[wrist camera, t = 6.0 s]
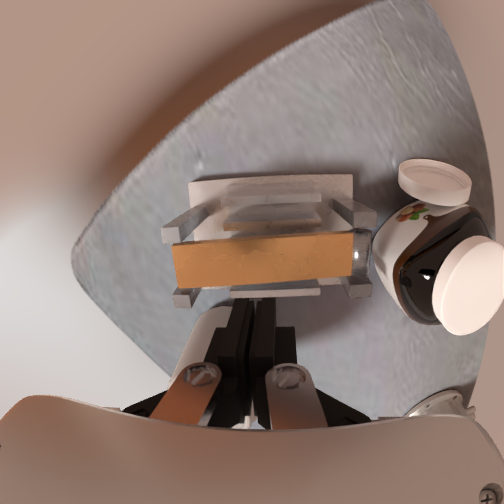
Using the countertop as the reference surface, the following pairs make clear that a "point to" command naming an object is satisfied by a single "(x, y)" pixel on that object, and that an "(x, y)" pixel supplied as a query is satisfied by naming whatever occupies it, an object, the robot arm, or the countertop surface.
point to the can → (206, 347)
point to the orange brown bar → (272, 258)
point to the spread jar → (440, 251)
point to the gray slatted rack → (271, 223)
